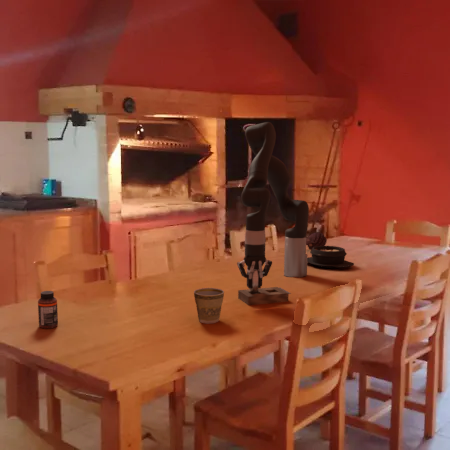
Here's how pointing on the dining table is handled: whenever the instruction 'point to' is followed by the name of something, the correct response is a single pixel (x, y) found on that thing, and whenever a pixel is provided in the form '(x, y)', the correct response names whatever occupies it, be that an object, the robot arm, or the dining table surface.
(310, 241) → the pine cone
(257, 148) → the robot arm
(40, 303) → the supplement bottle
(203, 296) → the ceramic cup
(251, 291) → the pin
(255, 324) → the dining table surface
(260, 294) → the socket block
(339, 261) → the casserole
